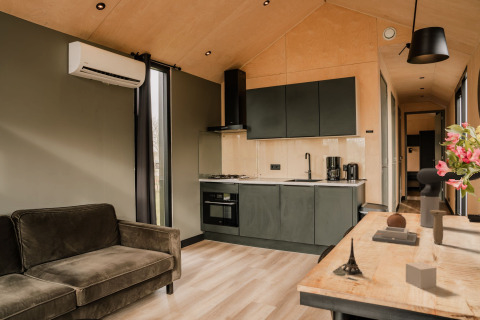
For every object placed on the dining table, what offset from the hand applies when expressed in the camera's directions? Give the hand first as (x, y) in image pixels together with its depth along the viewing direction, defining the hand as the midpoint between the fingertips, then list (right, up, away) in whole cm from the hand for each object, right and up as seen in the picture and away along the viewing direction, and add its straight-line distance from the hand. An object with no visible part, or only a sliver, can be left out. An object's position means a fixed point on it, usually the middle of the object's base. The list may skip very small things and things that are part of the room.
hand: (468, 218), depth 147 cm
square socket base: (-25, -13, +15) cm, 32 cm away
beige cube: (-44, -14, -42) cm, 62 cm away
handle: (-10, -13, +6) cm, 17 cm away
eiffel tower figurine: (-62, -14, -31) cm, 71 cm away
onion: (-17, -13, +31) cm, 38 cm away
